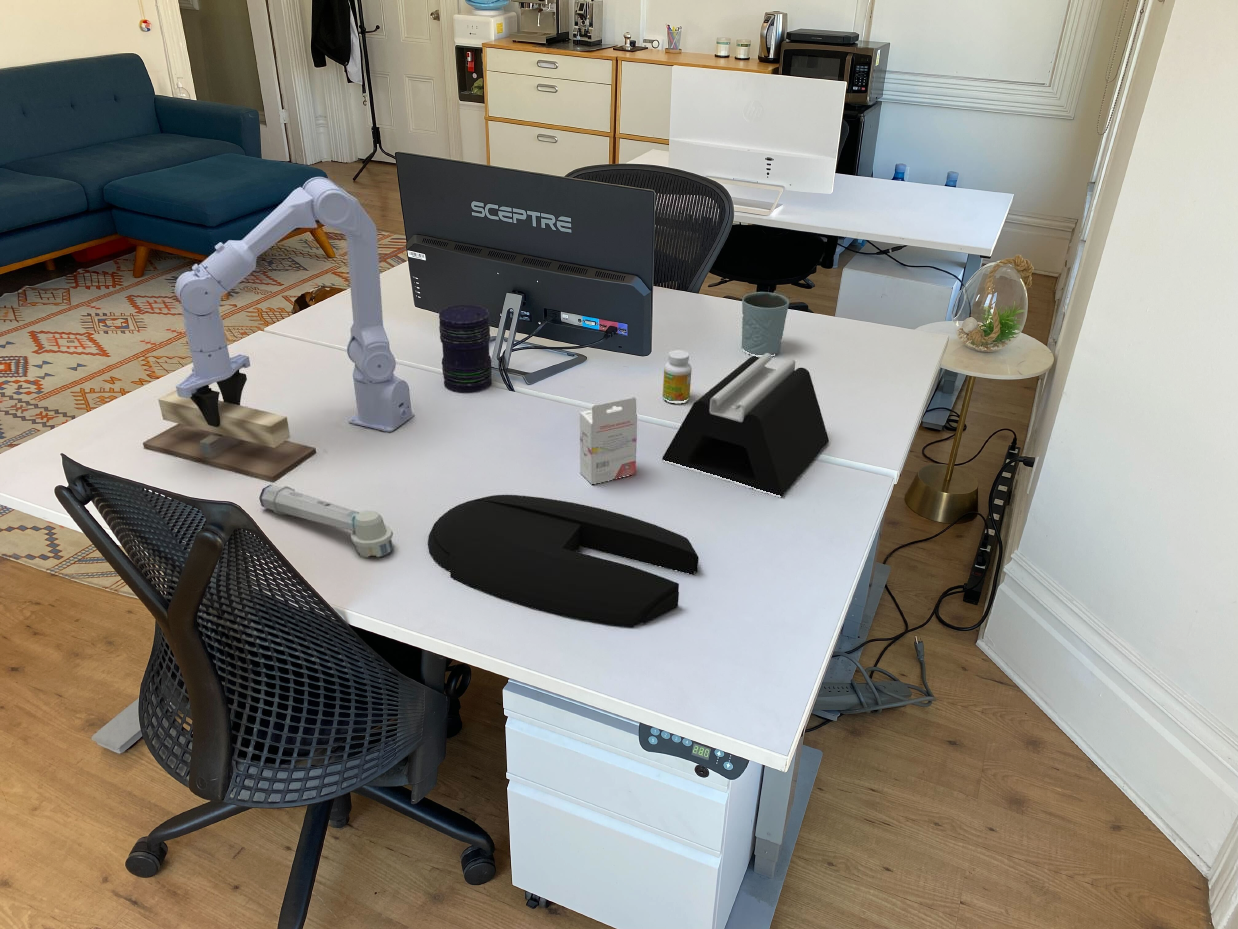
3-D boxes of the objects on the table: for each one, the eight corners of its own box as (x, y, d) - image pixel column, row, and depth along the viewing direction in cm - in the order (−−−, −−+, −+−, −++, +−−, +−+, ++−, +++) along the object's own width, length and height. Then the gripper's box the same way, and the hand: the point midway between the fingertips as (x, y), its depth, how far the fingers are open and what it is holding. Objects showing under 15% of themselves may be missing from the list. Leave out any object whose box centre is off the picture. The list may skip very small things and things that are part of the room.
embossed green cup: (784, 344, 209) (790, 294, 204) (781, 361, 201) (787, 309, 195) (740, 340, 211) (745, 289, 205) (735, 356, 203) (739, 304, 197)
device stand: (828, 445, 168) (839, 370, 161) (781, 499, 151) (792, 418, 144) (717, 415, 178) (723, 342, 171) (662, 463, 161) (666, 385, 154)
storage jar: (436, 391, 183) (430, 320, 176) (451, 371, 192) (447, 303, 184) (484, 395, 182) (481, 324, 175) (498, 375, 191) (495, 307, 183)
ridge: (253, 434, 163) (250, 419, 162) (212, 459, 155) (209, 443, 154) (244, 432, 164) (241, 417, 163) (203, 456, 156) (199, 441, 155)
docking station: (478, 489, 152) (476, 463, 150) (713, 546, 139) (715, 519, 137) (392, 571, 132) (388, 542, 129) (657, 647, 119) (659, 616, 117)
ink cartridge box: (622, 462, 160) (625, 385, 153) (636, 475, 156) (639, 397, 149) (578, 472, 157) (578, 394, 149) (591, 486, 153) (592, 407, 146)
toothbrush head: (279, 477, 146) (394, 505, 133) (289, 514, 149) (403, 544, 136) (252, 491, 142) (368, 521, 129) (263, 529, 145) (377, 562, 132)
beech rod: (290, 437, 156) (286, 416, 154) (274, 447, 153) (270, 426, 151) (180, 410, 163) (175, 390, 162) (163, 419, 160) (158, 399, 158)
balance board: (316, 452, 160) (315, 447, 160) (273, 482, 151) (272, 476, 151) (191, 421, 169) (190, 417, 169) (143, 447, 160) (142, 442, 160)
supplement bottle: (658, 402, 182) (660, 356, 177) (667, 391, 186) (670, 346, 181) (684, 407, 180) (687, 361, 175) (692, 396, 184) (696, 351, 180)
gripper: (221, 327, 158) (235, 398, 164) (154, 357, 146) (173, 432, 153) (254, 333, 155) (267, 406, 162) (189, 364, 144) (206, 441, 150)
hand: (223, 419), depth 157 cm, fingers closed on beech rod, 4 cm apart
